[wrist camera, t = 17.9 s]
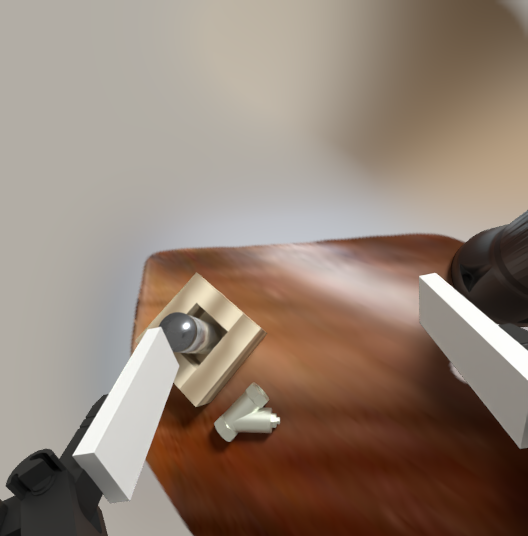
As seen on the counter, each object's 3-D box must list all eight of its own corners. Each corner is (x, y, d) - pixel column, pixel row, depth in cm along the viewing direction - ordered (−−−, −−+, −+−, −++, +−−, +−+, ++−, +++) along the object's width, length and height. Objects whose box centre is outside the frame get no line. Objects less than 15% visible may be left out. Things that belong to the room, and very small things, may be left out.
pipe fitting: (285, 414, 45) (255, 381, 47) (284, 420, 41) (251, 383, 43) (248, 455, 44) (218, 419, 46) (243, 465, 40) (211, 425, 42)
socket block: (267, 333, 49) (260, 328, 43) (210, 402, 47) (195, 407, 41) (209, 282, 53) (196, 272, 48) (154, 343, 51) (135, 340, 46)
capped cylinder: (227, 337, 48) (202, 330, 37) (206, 360, 48) (174, 360, 36) (207, 317, 50) (177, 304, 39) (186, 339, 49) (149, 333, 38)
